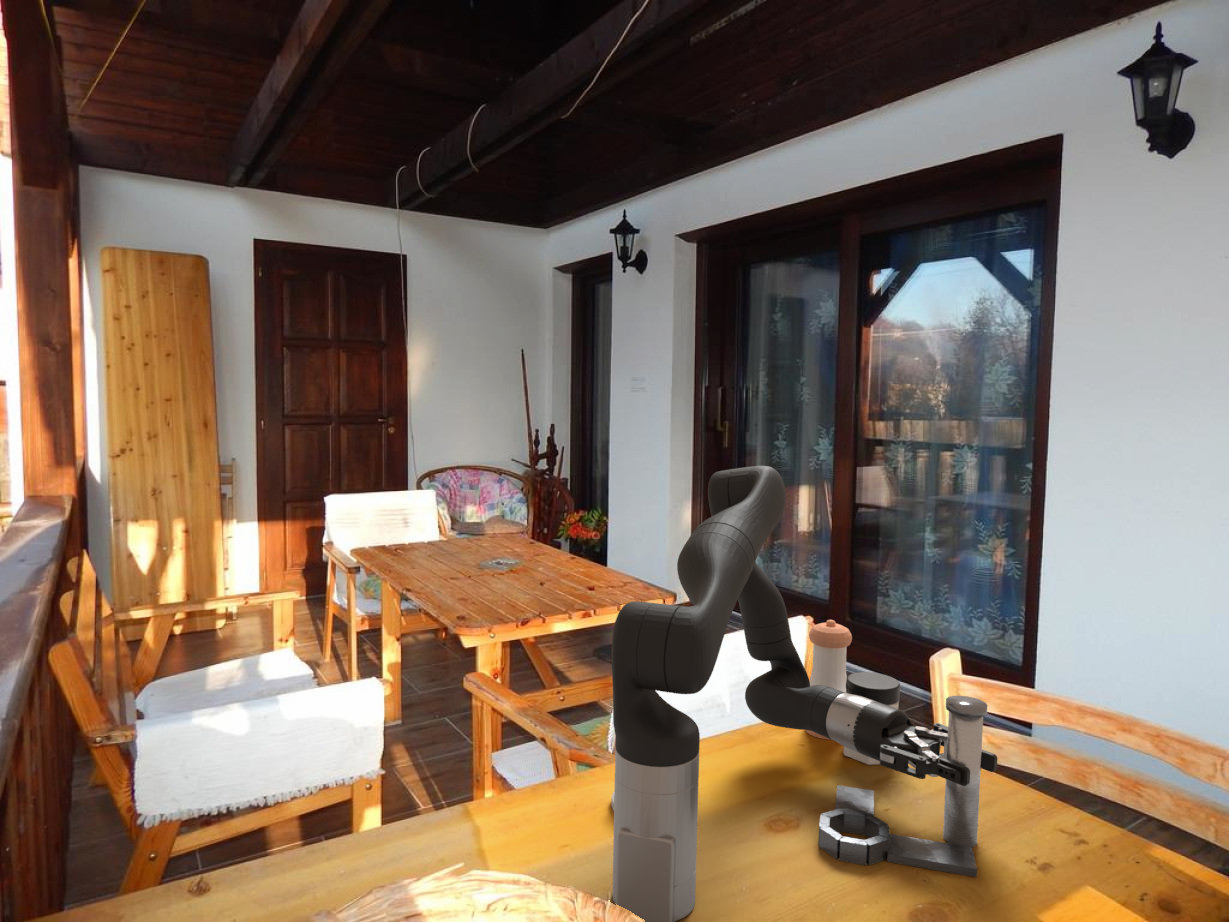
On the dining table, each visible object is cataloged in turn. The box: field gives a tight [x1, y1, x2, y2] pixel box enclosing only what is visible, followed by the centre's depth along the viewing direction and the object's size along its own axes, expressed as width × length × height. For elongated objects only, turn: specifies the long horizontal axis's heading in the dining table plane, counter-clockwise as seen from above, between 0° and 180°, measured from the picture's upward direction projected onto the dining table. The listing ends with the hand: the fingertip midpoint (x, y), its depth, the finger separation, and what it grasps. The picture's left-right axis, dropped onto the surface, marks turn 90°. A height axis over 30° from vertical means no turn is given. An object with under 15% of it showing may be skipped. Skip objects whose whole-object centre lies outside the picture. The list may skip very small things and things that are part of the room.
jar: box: [843, 671, 901, 766], centre depth 129 cm, size 9×8×12 cm
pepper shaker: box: [805, 619, 853, 741], centre depth 138 cm, size 7×7×19 cm
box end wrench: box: [817, 784, 978, 878], centre depth 106 cm, size 18×18×2 cm
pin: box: [942, 695, 988, 848], centre depth 104 cm, size 5×5×18 cm
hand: (982, 770), depth 102 cm, fingers open, 6 cm apart
